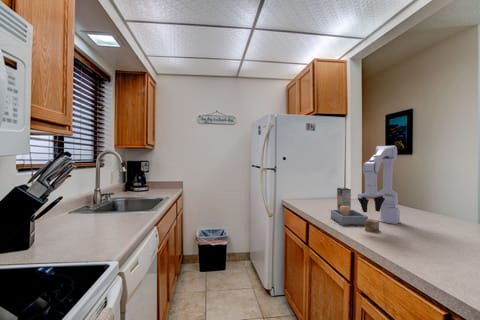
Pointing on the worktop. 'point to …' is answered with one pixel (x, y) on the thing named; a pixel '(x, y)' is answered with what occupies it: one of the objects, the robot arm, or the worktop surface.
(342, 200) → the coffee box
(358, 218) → the slate tote
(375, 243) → the worktop surface
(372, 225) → the walnut block
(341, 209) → the peach rounded cylinder
